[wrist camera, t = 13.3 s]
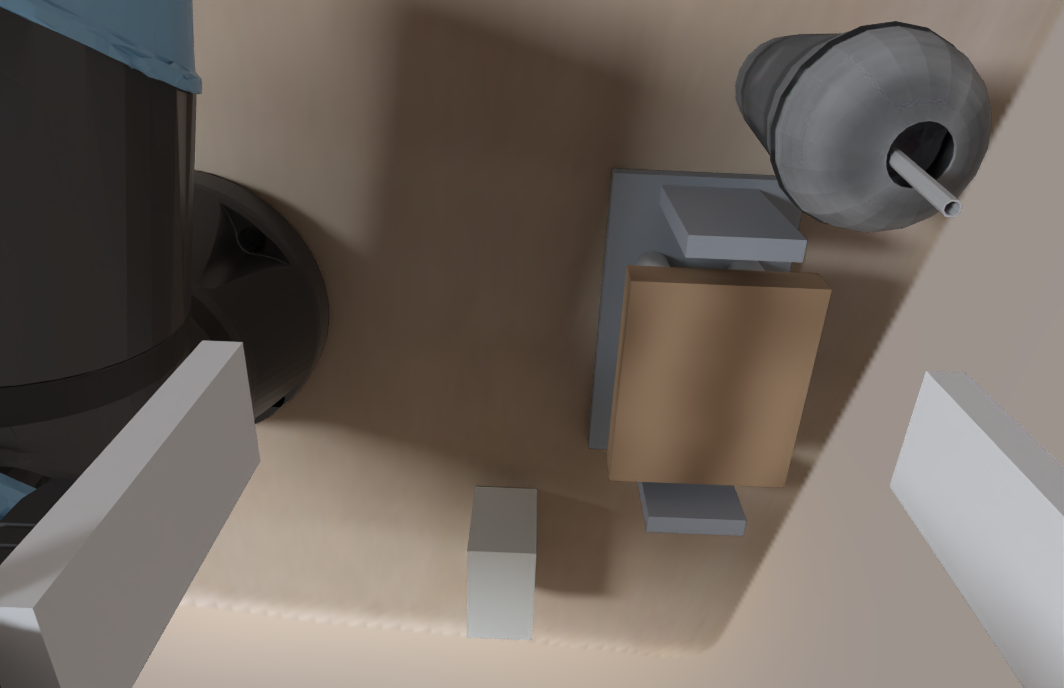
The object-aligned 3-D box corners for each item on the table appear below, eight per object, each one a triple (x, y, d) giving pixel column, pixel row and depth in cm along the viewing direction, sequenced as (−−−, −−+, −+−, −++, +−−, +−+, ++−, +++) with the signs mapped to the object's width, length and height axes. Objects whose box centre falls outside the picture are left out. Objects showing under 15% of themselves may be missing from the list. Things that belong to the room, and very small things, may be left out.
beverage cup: (862, 135, 38) (1141, 284, 21) (721, 175, 39) (870, 350, 22) (847, -17, 35) (1161, 5, 17) (694, 31, 36) (842, 97, 18)
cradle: (587, 439, 47) (597, 537, 39) (612, 168, 39) (630, 220, 31) (747, 446, 47) (789, 545, 39) (802, 176, 39) (869, 231, 31)
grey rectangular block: (474, 568, 52) (466, 637, 47) (475, 486, 49) (467, 550, 43) (532, 570, 52) (531, 640, 47) (536, 488, 49) (536, 553, 43)
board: (606, 457, 40) (609, 480, 39) (626, 265, 35) (631, 281, 34) (773, 464, 40) (784, 487, 39) (817, 273, 35) (831, 289, 34)
